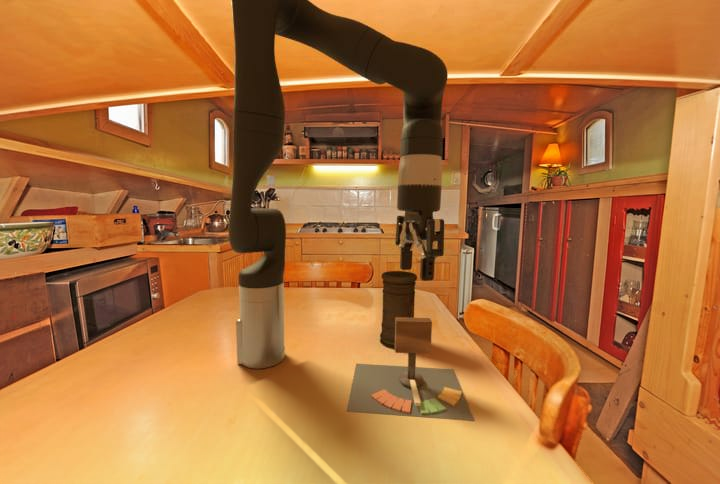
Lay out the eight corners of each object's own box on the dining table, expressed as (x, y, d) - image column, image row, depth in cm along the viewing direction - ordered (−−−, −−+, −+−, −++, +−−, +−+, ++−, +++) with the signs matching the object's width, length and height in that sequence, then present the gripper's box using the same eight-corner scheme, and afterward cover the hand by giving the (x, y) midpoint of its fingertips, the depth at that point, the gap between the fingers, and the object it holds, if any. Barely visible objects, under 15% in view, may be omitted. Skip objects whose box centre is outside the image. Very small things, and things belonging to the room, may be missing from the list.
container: (386, 356, 69) (388, 279, 67) (374, 339, 78) (375, 271, 76) (422, 351, 71) (425, 277, 69) (406, 336, 80) (408, 269, 78)
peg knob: (393, 373, 59) (394, 314, 58) (426, 374, 59) (428, 315, 58) (398, 407, 49) (400, 337, 48) (437, 408, 49) (440, 338, 48)
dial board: (346, 418, 49) (346, 409, 48) (356, 368, 63) (356, 362, 63) (474, 427, 47) (474, 418, 47) (453, 374, 62) (453, 367, 62)
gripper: (462, 182, 47) (455, 283, 49) (420, 186, 61) (416, 265, 63) (418, 180, 45) (413, 286, 47) (385, 185, 59) (382, 267, 61)
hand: (415, 274), depth 55 cm, fingers open, 8 cm apart
